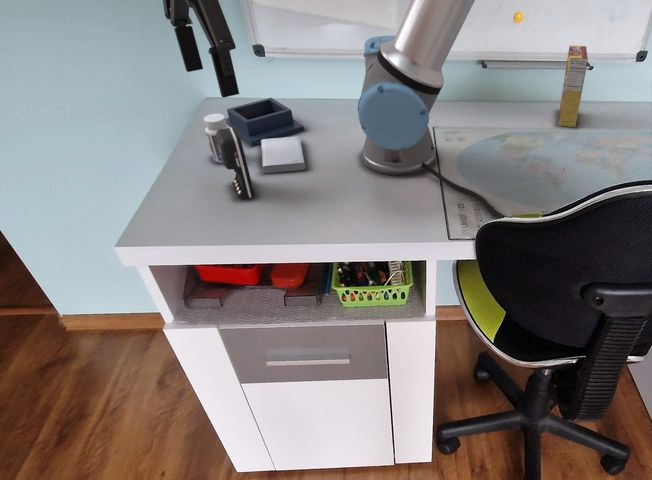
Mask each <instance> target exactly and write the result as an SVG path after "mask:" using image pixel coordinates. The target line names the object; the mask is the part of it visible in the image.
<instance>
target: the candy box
mask: <svg viewBox="0 0 652 480" xmlns="http://www.w3.org/2000/svg"><path fill="white" fill-rule="evenodd" d="M588 61H589V58H588V51H587V46H585V45H575V44H574V45H573V44H571V45H569V47H568V54H567V60H566V66H565V72H564V73H565V74H564V79H563V85H562V92H561V99H560V104H559V105H560V106H559V119H558V120H559V121H558V126H559V127H568V128H576V125H577V119H578V114H579V109H580V104H581V99H582V93H583V89H584V82H585V77H586V71H587V68H588Z"/></svg>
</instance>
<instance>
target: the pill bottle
mask: <svg viewBox="0 0 652 480" xmlns="http://www.w3.org/2000/svg"><path fill="white" fill-rule="evenodd" d="M203 122H204V125H205V130H204V131H205V135H206V138H207V141H208V145H209V148H210V152H211V155H212V158H213V160H214V161H215V162H216V163H220V164H224V163H223V160H222V158H221V155H220V152H219V147H218V143H217V138H216V133H217V131H218V130H220V129H226V128H229V126H228V125H227V123H226V116H225V115H224V114H221V113H211V114H208V115H205V116H204V117H203Z"/></svg>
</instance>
